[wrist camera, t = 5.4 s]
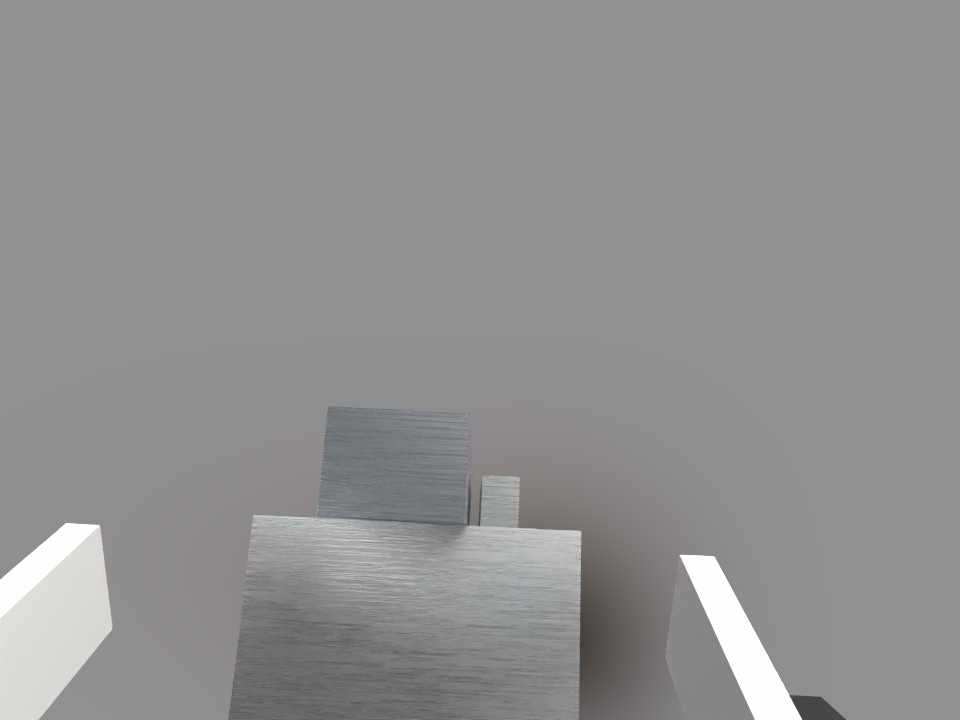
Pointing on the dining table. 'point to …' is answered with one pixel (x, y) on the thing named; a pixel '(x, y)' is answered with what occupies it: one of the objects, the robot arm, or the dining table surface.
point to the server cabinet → (410, 618)
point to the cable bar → (397, 466)
